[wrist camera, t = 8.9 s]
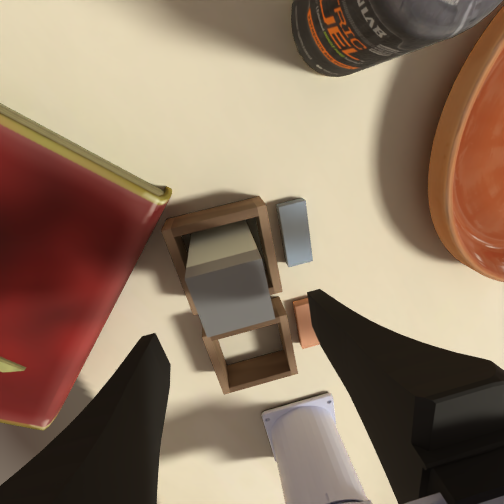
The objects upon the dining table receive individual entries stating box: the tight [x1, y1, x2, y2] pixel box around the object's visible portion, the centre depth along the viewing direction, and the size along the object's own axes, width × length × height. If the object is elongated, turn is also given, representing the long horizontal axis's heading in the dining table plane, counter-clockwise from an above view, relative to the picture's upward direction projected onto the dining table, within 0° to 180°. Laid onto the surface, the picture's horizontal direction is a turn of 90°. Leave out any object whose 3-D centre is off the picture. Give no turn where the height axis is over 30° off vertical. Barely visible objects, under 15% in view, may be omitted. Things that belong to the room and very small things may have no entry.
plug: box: [185, 220, 275, 338], centre depth 18 cm, size 4×4×7 cm
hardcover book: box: [0, 103, 172, 430], centre depth 18 cm, size 12×21×4 cm, turn 148°
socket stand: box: [161, 196, 320, 394], centre depth 22 cm, size 16×10×2 cm, turn 12°
